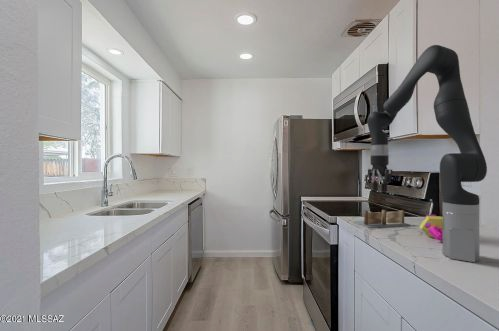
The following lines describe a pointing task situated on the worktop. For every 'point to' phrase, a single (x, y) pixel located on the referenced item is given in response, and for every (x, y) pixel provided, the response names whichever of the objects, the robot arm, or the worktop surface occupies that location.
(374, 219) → the fence gate
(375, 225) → the mat
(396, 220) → the fence fixed
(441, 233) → the toy
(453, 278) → the worktop surface
